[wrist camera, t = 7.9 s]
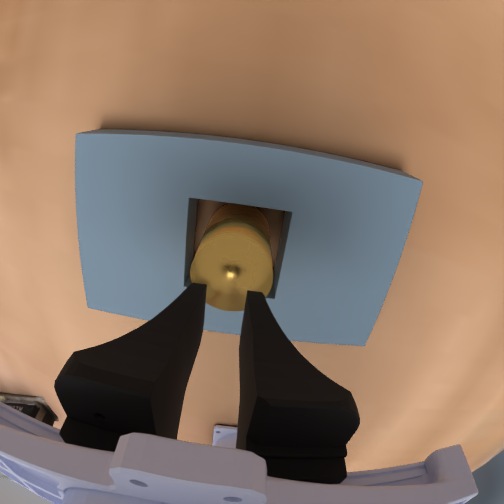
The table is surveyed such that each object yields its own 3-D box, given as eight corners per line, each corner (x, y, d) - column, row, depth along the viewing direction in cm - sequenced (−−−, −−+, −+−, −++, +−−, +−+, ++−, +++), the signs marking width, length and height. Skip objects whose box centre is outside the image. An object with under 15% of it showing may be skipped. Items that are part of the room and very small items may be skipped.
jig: (355, 320, 23) (364, 345, 21) (103, 286, 22) (87, 307, 20) (402, 171, 18) (423, 181, 15) (99, 129, 17) (75, 133, 15)
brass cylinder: (264, 263, 21) (265, 315, 16) (205, 255, 21) (188, 305, 16) (274, 207, 20) (279, 245, 14) (211, 198, 19) (192, 233, 14)
